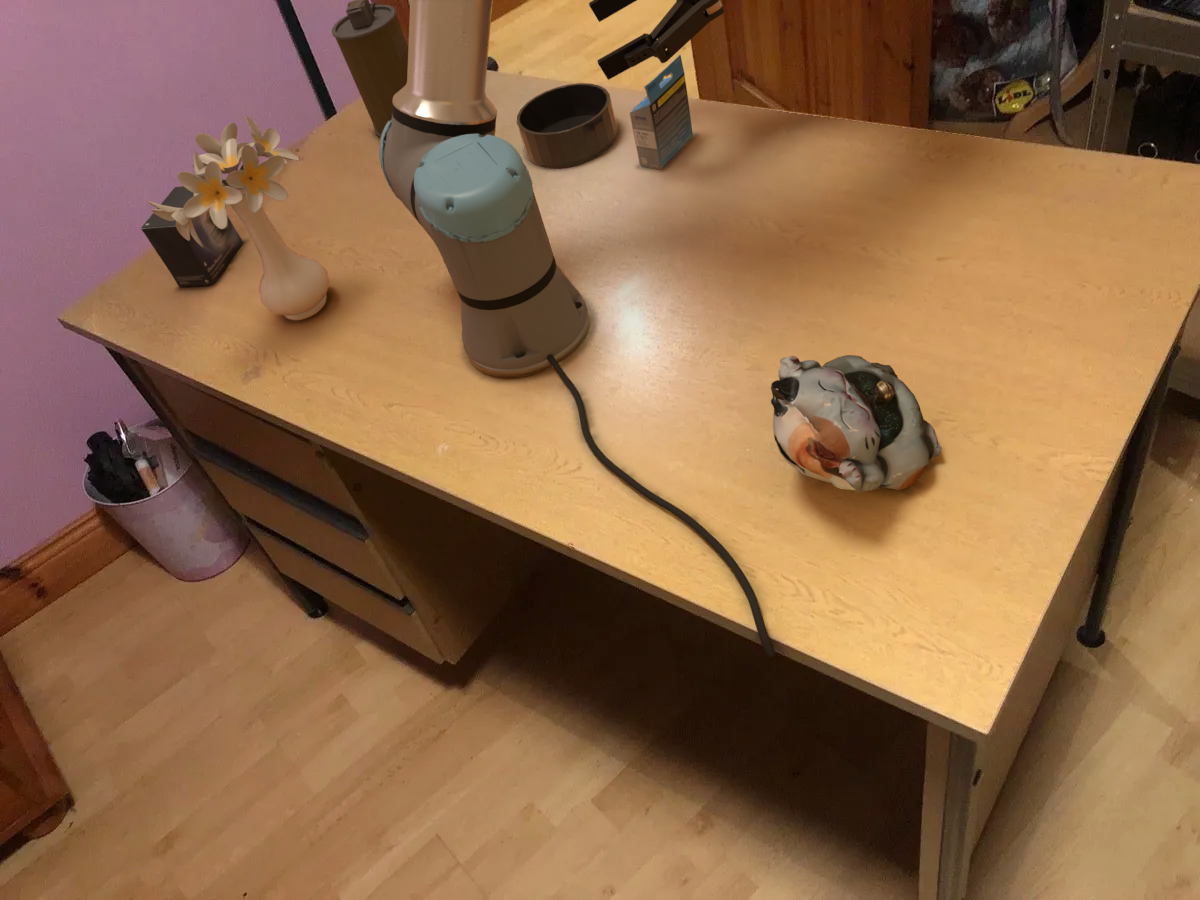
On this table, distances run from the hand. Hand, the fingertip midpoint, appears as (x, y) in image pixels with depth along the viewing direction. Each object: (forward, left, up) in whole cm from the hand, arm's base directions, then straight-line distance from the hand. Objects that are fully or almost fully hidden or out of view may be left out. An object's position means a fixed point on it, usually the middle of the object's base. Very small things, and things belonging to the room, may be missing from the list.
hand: (598, 40), depth 124 cm
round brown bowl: (+10, +1, -17) cm, 19 cm away
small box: (+41, +48, -17) cm, 66 cm away
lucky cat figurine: (-59, +32, -17) cm, 69 cm away
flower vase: (+17, +47, -17) cm, 53 cm away
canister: (+44, +7, -17) cm, 48 cm away
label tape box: (-6, -3, -17) cm, 18 cm away
